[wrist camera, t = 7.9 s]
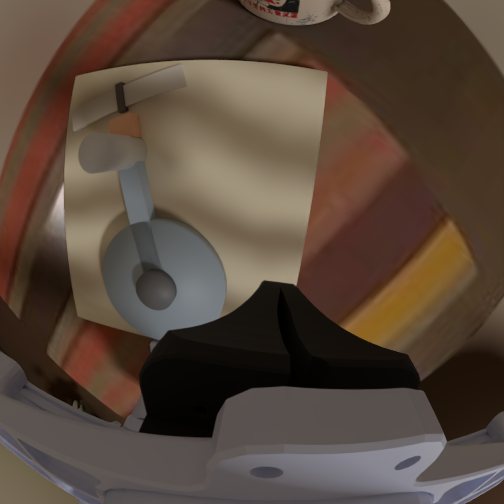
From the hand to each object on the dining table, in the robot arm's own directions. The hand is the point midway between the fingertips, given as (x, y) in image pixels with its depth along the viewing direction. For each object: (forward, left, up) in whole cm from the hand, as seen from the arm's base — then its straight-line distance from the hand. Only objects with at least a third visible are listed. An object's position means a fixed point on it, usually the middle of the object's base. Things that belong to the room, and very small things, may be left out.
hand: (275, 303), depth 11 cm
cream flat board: (+1, +8, -9) cm, 12 cm away
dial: (0, +9, -8) cm, 12 cm away
